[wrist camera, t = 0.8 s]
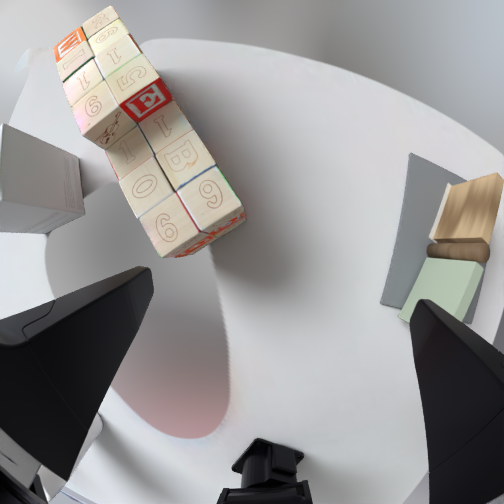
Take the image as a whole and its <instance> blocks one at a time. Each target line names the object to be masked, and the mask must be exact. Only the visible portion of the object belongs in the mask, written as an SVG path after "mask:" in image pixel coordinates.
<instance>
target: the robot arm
mask: <svg viewBox="0 0 504 504" xmlns="http://www.w3.org/2000/svg"><path fill="white" fill-rule="evenodd" d="M153 293H154V286H153V280H152V273H151V270H150V268H148V267H143V266H137V267H135V268H132V269H130V270H127V271H124V272H122V273H119V274H117V275H114V276H112V277H109V278H107V279H104V280H102V281H99V282H96V283H94V284H92V285H89V286H87V287H84V288H81V289H79V290H76V291H74V292H72V293H69V294H67V295H64V296H62V297H60V298H57V299H56V300H52V301H50V302H47V303H45V304H42V305H40V306H37V307H35V308H32V309H29V310H27V311H24V312H21V313H18V314H15V315H13V316H10V317H7V318H4V319H1V320H0V504H48V501H47V498H46V495H45V492H44V489H43V486H42V483H41V479H40V476H39V475H38V474H37V473H38V471H39V469H40V467H41V465H42V466H44V467H45V468H46V469H48V470H49V471H51V472H52V473H54V474H55V475H57V476H58V477H60V478H62V479H63V480H65V481H66V482H67V481H68V480H69V478H70V475H71V473H72V470H73V468H74V465H75V463H76V460H77V458H78V455H79V453H80V450H81V448H82V446H83V443H84V441H85V439H86V437H87V434H88V432H89V431H88V430H89V429H90V427H91V425H92V423H93V420H94V418H95V416H96V414H97V412H98V409H99V407H100V405H101V403H102V401H103V399H104V397H105V395H106V393H107V391H108V388H109V386H110V384H111V382H112V380H113V378H114V376H115V374H116V372H117V370H118V368H119V366H120V364H121V362H122V360H123V358H124V356H125V355H126V353H127V351H128V349H129V347H130V345H131V343H132V341H133V339H134V338H135V336H136V334H137V332H138V330H139V327H140V325H141V323H142V320H143V318H144V315H145V313H146V310H147V308H148V306H149V303H150V301H151V298H152V296H153ZM409 325H410V332H411V339H412V347H413V356H414V363H415V368H416V373H417V378H418V384H419V389H420V395H421V401H422V407H423V414H424V422H425V430H426V439H427V449H428V463H429V472H430V473H429V490H430V491H429V494H430V495H429V504H504V354H502V353H501V352H500V351H499V352H498V350H497V349H496V348H494V347H493V346H492V345H491V344H490V343H488V342H487V341H486V340H485V339H483V338H482V337H481V336H479V335H478V334H477V333H475V332H474V331H473V330H471V329H470V328H469V327H467V326H466V325H465V324H463V323H462V322H461V321H459V320H458V319H457V318H455V317H454V316H453V315H451V314H450V313H448V312H447V311H446V310H444V309H443V308H441V307H440V306H439V305H437V304H436V303H434V302H433V301H432V300H430V299H419V300H418V301H417V304H416V306H415V308H414V311H413V313H412V315H411V318H410V322H409ZM257 442H260V443H257ZM298 456H300V457H298ZM303 458H304V454H303V453H301V452H298V451H295V450H293V449H289V448H286V447H283V446H280V445H278V444H274V443H271V442H268V441H266V440H263V439H260V438H256V439H255V440H254V441H253V442H252V443H251V444H250V446H249V447H248V448H247V449H246V451H245V452H244V453H243V454H242V455H241V456H240V458H239V459H238V460H237V461H236V462H235V463H234V465H233V466H232V471H234V472H237V473H240V474H242V481H241V488H236V489H229V488H223V491H222V493H221V494H220V496H219V499H218V501H217V504H313V503H312V498H311V493H310V489H309V485H308V481H307V480H304V481H302V482H297V478H296V473H297V469H296V465H297V464H298V463H299V462H300V461H301V460H302V459H303ZM235 468H237V469H235Z"/></svg>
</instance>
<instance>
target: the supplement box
mask: <svg viewBox="0 0 504 504" xmlns="http://www.w3.org/2000/svg"><path fill="white" fill-rule="evenodd" d="M83 215H85V209H84V202H83V195H82V187H81V179H80V170H79V160H78V157H77V156H75V155H73V154H71V153H69V152H67V151H64V150H62V149H60V148H58V147H56V146H53V145H51V144H49V143H47V142H44V141H42V140H40V139H38V138H36V137H33V136H31V135H29V134H27V133H24V132H22V131H20V130H18V129H15V128H13V127H11V126H9V125H7V124H4V123H2V124H1V125H0V232H11V233H36V234H45V233H47V232H50V231H52V230H54V229H56V228H58V227H60V226H62V225H64V224H66V223H68V222H70V221H73V220H75V219H76V218H79V217H81V216H83Z"/></svg>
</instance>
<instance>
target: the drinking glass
mask: <svg viewBox="0 0 504 504" xmlns="http://www.w3.org/2000/svg"><path fill="white" fill-rule="evenodd" d="M102 428H103V424H102V420H101V418H100V416H99V415H98V413H97V414H96V416H95V418H94V420H93V423H92V425H91V427H90V429H89V430H88V431H89V432H88V434H87V437H86V439H85V441H84V443H83V446H82V448H81V450H80V453H79V455H78V458H77V460H76V463H75V465H74V468H73V470H72V473H71V475H70V477H71V476H72V474H73V473H74V471H75V469H76V468H77V466H78V465H79V463H80V462H81V460H82V458H83V457H84V455H85V454H86V452H87V451H88V449H89V448H90V446H91V445H92V443H93V442H94V440H95V439H96V437H97V436H98V435H99V434H100V433H101V431H102ZM37 474H38V475H39V476H40V479H41V483H42V486H43V489H44V492H45V495H46V498H47V501H48V502H50V501H51V500H52V499H53V498H54V497H55V496H56V495H57V494H58V493H59V492H60V490H61V489H62V488H63V487H64V486H65V484H66V483H67V482H68V481H67V482H66V481H65V480H63V479H62V478H60V477H58V476H57V475H55V474H54V473H52V472H51V471H49V470H48V469H46V468H45V467H44V466H42V465H41V467H40V469H39V471H38V473H37ZM69 479H70V478H69Z"/></svg>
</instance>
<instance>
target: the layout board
mask: <svg viewBox="0 0 504 504" xmlns="http://www.w3.org/2000/svg"><path fill="white" fill-rule="evenodd" d="M463 182H467V180H465V179H463V178H461V177H459V176H457V175H456V174H454V173H452V172H450V171H448V170H446V169H444V168H442V167H440V166H438V165H436V164H434V163H432V162H430V161H428V160H426V159H424V158H421V157H419V156H417V155H415V154H413V153H410V154H409V162H408V171H407V179H406V186H405V193H404V200H403V206H402V212H401V217H400V223H399V228H398V233H397V238H396V243H395V247H394V252H393V256H392V260H391V264H390V269H389V273H388V276H387V280H386V284H385V288H384V291H383V295H382V298H381V302H380V303H381V304H385V305H389V306H393V307H398V308H403V306H404V304H405V302H406V300H407V298H408V296H409V294H410V292H411V290H412V288H413V286H414V284H415V282H416V280H417V278H418V276H419V273H420V271H421V269H422V267H423V264H424V262H425V260H426V258H429V257H428V255H427V252H426V250H427V246H428V245H429V244H431V243H437V242H436V241H435V240H434V239H433V237H434V234H435V232H436V229H437V226H438V223H439V221H440V218H441V215H442V212H443V209H444V206H445V203H446V200H447V197H448V194H449V191H450V188H451V186H453V185H457V184H460V183H463ZM489 243H490V242H489ZM488 246H489V245H488ZM477 263H478V262H477ZM478 264H479V265H480V266H482V267H483V268H484V270H483V273H482V275H481V278H480V281H479V283H478V286H477V288H476V291H475V293H474V296H473V298H472V301H471V303H470V305H469V307H468V310H467V312H466V314H465V316H464V318H463V321H462V322H465V323H470V324H471V323H472V320H473V317H474V313H475V310H476V306H477V302H478V298H479V294H480V290H481V286H482V282H483V277H484V272H485V267H486V263H478Z"/></svg>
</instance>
